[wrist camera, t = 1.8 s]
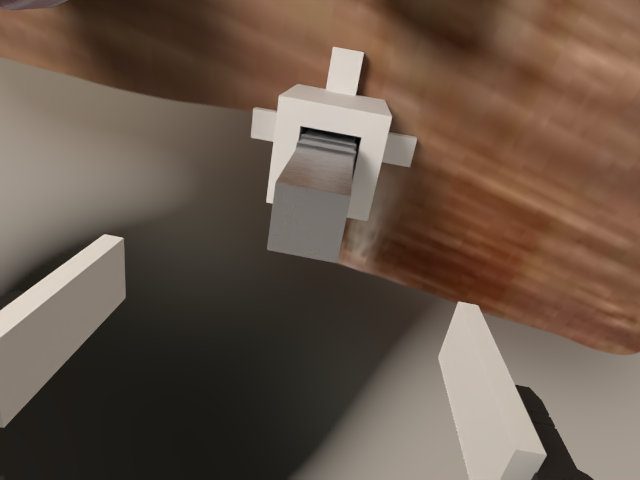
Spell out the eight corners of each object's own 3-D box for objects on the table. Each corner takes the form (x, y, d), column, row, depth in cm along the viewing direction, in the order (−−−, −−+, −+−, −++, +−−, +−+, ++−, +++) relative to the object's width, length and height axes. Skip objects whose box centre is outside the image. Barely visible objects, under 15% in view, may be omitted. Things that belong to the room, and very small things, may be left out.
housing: (263, 33, 42) (233, 30, 32) (434, 65, 42) (458, 71, 32) (247, 196, 49) (218, 234, 39) (393, 223, 49) (401, 269, 39)
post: (316, 112, 44) (273, 178, 22) (357, 120, 44) (354, 194, 22) (309, 153, 46) (264, 251, 24) (349, 160, 46) (339, 265, 24)
